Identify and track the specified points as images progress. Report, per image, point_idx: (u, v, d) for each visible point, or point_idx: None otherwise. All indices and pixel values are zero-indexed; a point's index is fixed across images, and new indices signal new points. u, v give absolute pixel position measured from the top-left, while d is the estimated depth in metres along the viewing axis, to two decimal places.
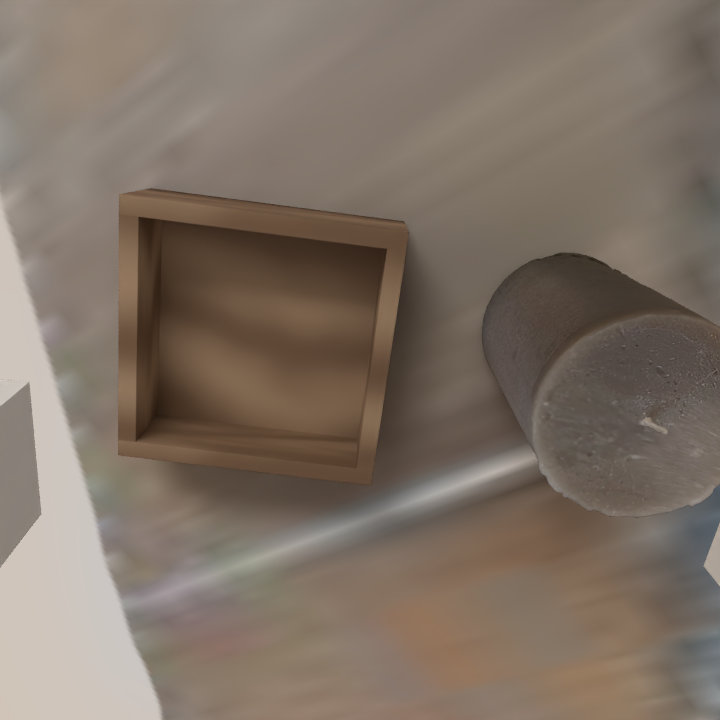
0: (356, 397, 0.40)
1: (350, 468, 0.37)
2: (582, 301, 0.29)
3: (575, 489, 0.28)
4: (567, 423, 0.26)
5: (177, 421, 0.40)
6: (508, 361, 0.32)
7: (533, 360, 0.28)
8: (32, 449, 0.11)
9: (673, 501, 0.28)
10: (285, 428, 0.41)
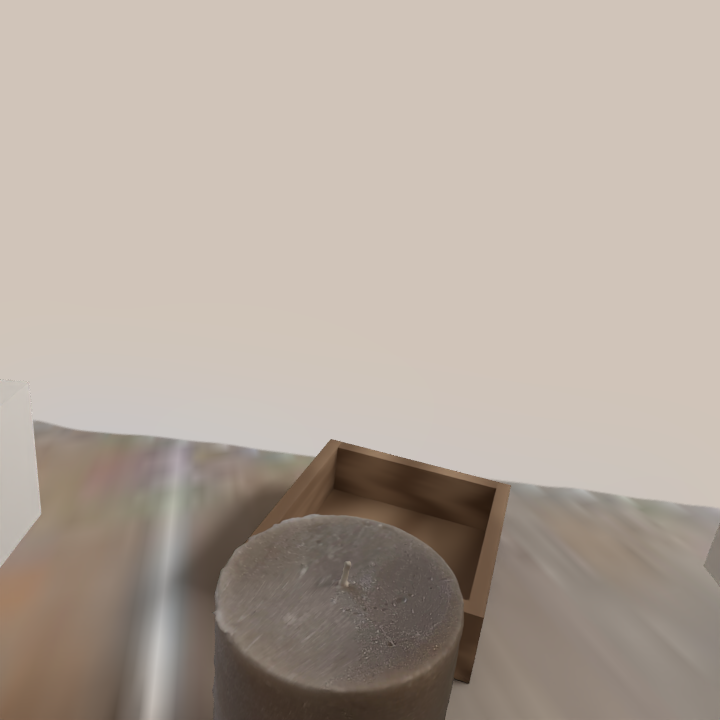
0: None
1: None
2: None
3: (280, 530, 0.27)
4: (357, 533, 0.27)
5: (327, 490, 0.51)
6: None
7: None
8: (32, 449, 0.11)
9: (230, 595, 0.23)
10: None
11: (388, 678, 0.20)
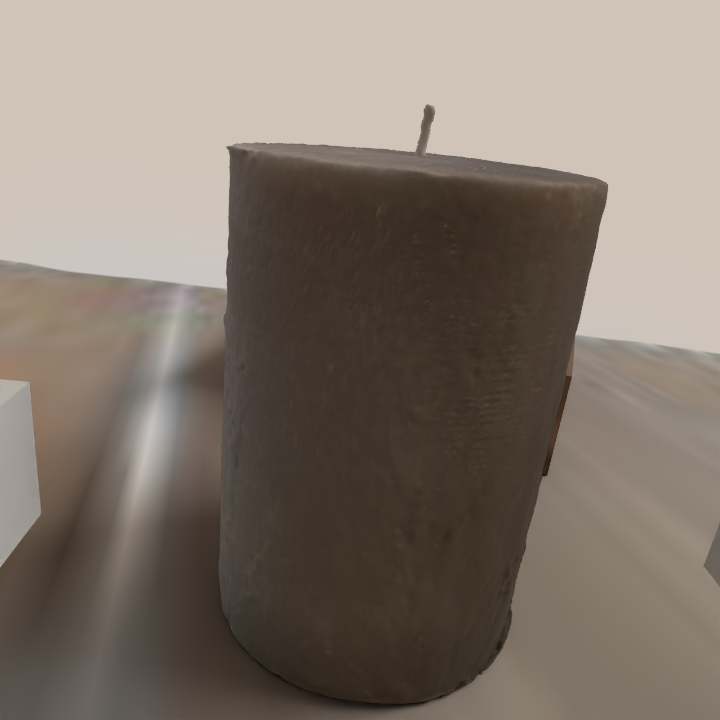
0: None
1: None
2: None
3: None
4: None
5: None
6: None
7: None
8: (32, 449, 0.11)
9: (253, 144, 0.15)
10: None
11: (516, 178, 0.12)
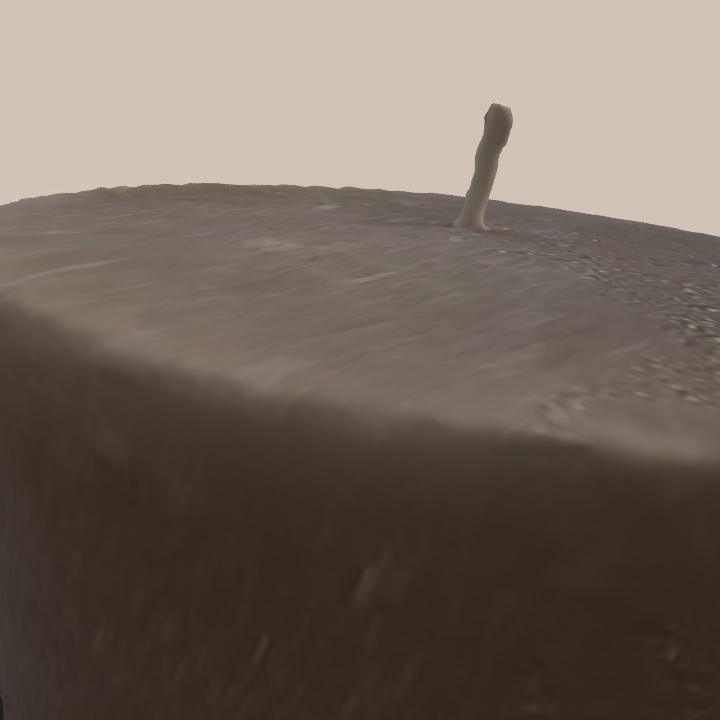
0: None
1: None
2: None
3: (256, 187, 0.10)
4: None
5: None
6: None
7: None
8: None
9: (38, 208, 0.06)
10: None
11: None
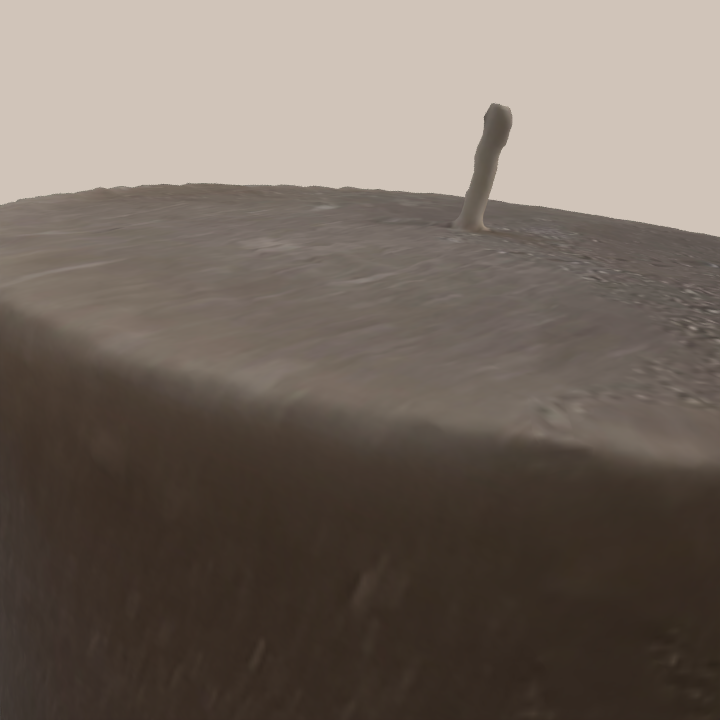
0: None
1: None
2: None
3: (255, 187, 0.10)
4: None
5: None
6: None
7: None
8: None
9: (35, 209, 0.06)
10: None
11: None
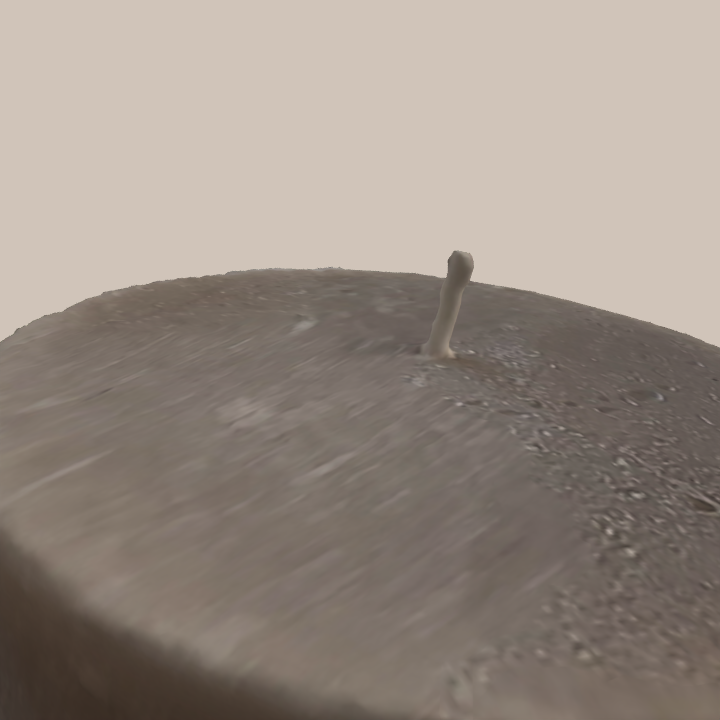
0: None
1: None
2: None
3: (243, 277, 0.10)
4: None
5: None
6: None
7: None
8: None
9: (32, 354, 0.06)
10: None
11: None
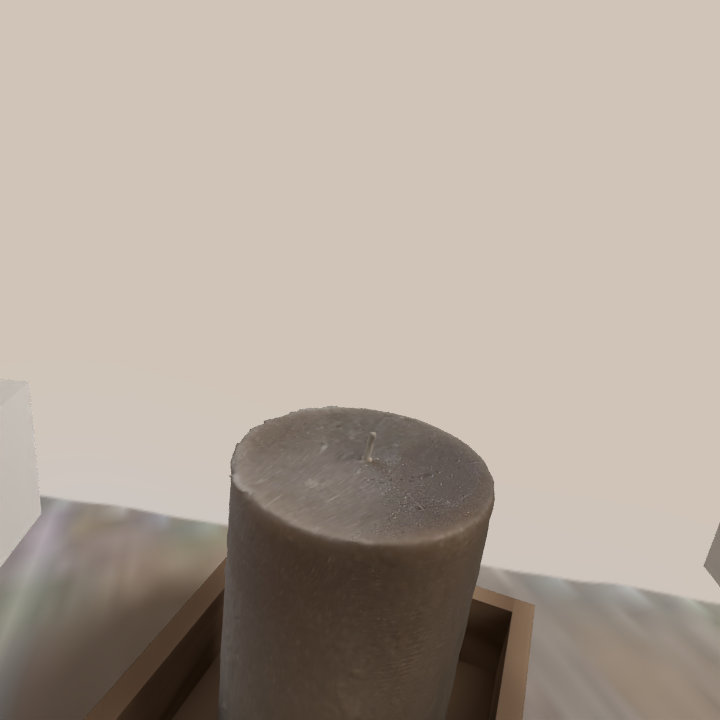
0: None
1: None
2: None
3: (297, 417, 0.26)
4: (378, 421, 0.26)
5: None
6: None
7: None
8: (32, 449, 0.11)
9: (247, 463, 0.22)
10: (181, 709, 0.28)
11: (420, 535, 0.19)
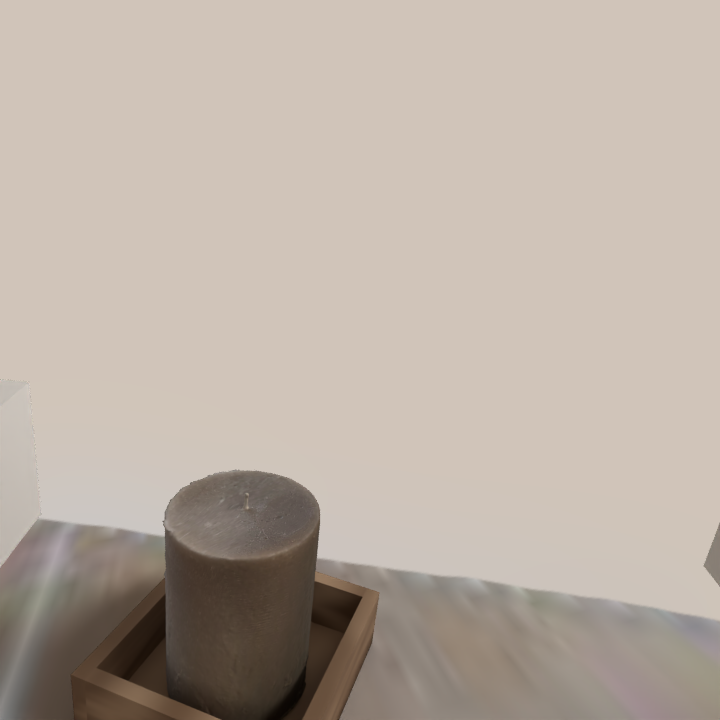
0: None
1: (99, 663, 0.39)
2: None
3: (211, 479, 0.42)
4: (261, 481, 0.42)
5: None
6: None
7: None
8: (32, 449, 0.11)
9: (174, 512, 0.38)
10: (146, 660, 0.44)
11: (260, 554, 0.35)
